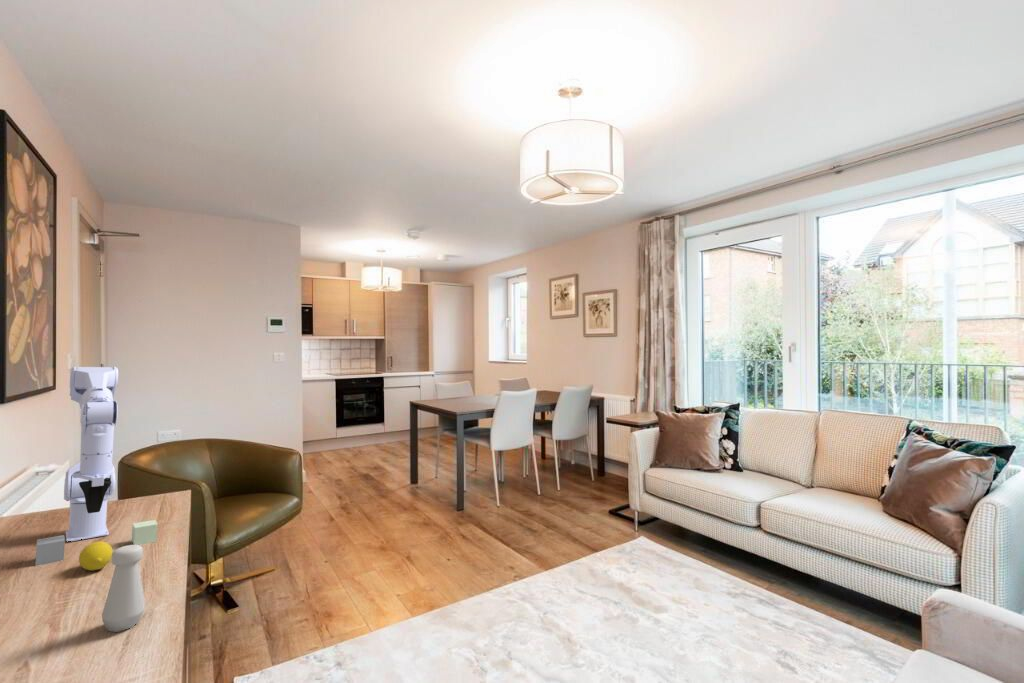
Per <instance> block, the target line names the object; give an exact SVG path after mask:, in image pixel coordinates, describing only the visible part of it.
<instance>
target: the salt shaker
mask: <svg viewBox="0 0 1024 683" xmlns="http://www.w3.org/2000/svg"><path fill="white" fill-rule="evenodd" d="M143 557H144V549H143V547H142V545H133V544H128V545H124V546H121V547H118V548H116V549H115V550H114V551H113V553H112V556H111V560H110V561H111V564H112V566H113V565H115V567H114V570H113V574H112V579H111V581H110V582H111V583H110V586H109V590H108V593H107V596H106V599H105V604H104V607H103V610H102V613H101V619H102V623H103V625H104V626H105V628H106V630H107V631H108V632H113V633H119V632H122V630H123V631H126V630H125V629H127V630H129V629H128V628H131V629H132V628H134V627H135V626H136V625H138V624H139V623H140V621H141V619H142V617H143V615H144V613H145V610H146V602H145V594H144V589H143V588H144V587H143V582H142V575H141V570H140V563H139V562H140V560H142V559H143ZM138 622H139V623H138ZM137 623H138V624H137ZM135 624H136V625H135ZM134 625H135V626H134ZM133 626H134V627H133Z"/></svg>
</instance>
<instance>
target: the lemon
mask: <svg viewBox="0 0 1024 683" xmlns="http://www.w3.org/2000/svg"><path fill="white" fill-rule="evenodd" d="M113 552H114V551H113V548H112V546H111V544H110V543H108V542H106V541H100V540H99V541H95V542H91V543H89V544H88V545H86V546H84V548H83V549H82V550H81V551H80V554H79V555H78V556H79V557H78V562H79V565H80V566H81V567H82V568H83V569H85V570H88V571H98V570H100V569H103V568H104V567H106V566H107V565H108V564H109V563H110V561H111V556H112V553H113Z"/></svg>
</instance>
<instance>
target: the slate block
mask: <svg viewBox="0 0 1024 683" xmlns="http://www.w3.org/2000/svg"><path fill="white" fill-rule="evenodd" d="M65 542H66V536H65V535H64V534H63V535H57V536H51V537H45V538H38V539H36V547H35V548H36V549H35V567H36V566H42V565H48V564H52V563H57V561H58V562H62V561H61V560H63V561H64V558H65V544H66V543H65Z"/></svg>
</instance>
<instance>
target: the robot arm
mask: <svg viewBox="0 0 1024 683" xmlns="http://www.w3.org/2000/svg"><path fill="white" fill-rule="evenodd" d="M69 376H70V377H69V396H70V400H71V401H74V402H76V403H78V404H79V407H80V417H79V418H80V420H79V421H80V423H79V424H80V426H81V427H80V430H81V431H80V454H79V455H80V457H79V460H80V461H79V462H77V463H75V464H74V465H72V466H70V467H69V468H67V470H66V472H65V478H64V485H63V486H64V487H63V488H64V489H63V500H65V501H66V502H69V519H68V530H66V531H65V542H66V541H67V542H66V543H69V542H68V541H71V542H75V541H81V539H82V540H86V539H87V540H88V539H91V538H92V539H93V538H97V537H99V538H100V537H103V536H108V535H109V534H110V532H109V530H108V526H107V514H108V512H107V510H108V499H109V496H112V495H113V494H114V493H115V491H116V482H117V481H116V473H115V470H116V469H115V466H114V464H113V456H114V440H115V439H114V437H115V436H114V435H115V426H116V424H117V423H118V419H119V405H118V401H117V400H114V399H115V396H116V394H117V389H118V388H117V387H118V383H119V369H118V367H117V366H77V365H76V366H73V367H71V368H70V374H69ZM113 424H114V425H113Z"/></svg>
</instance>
